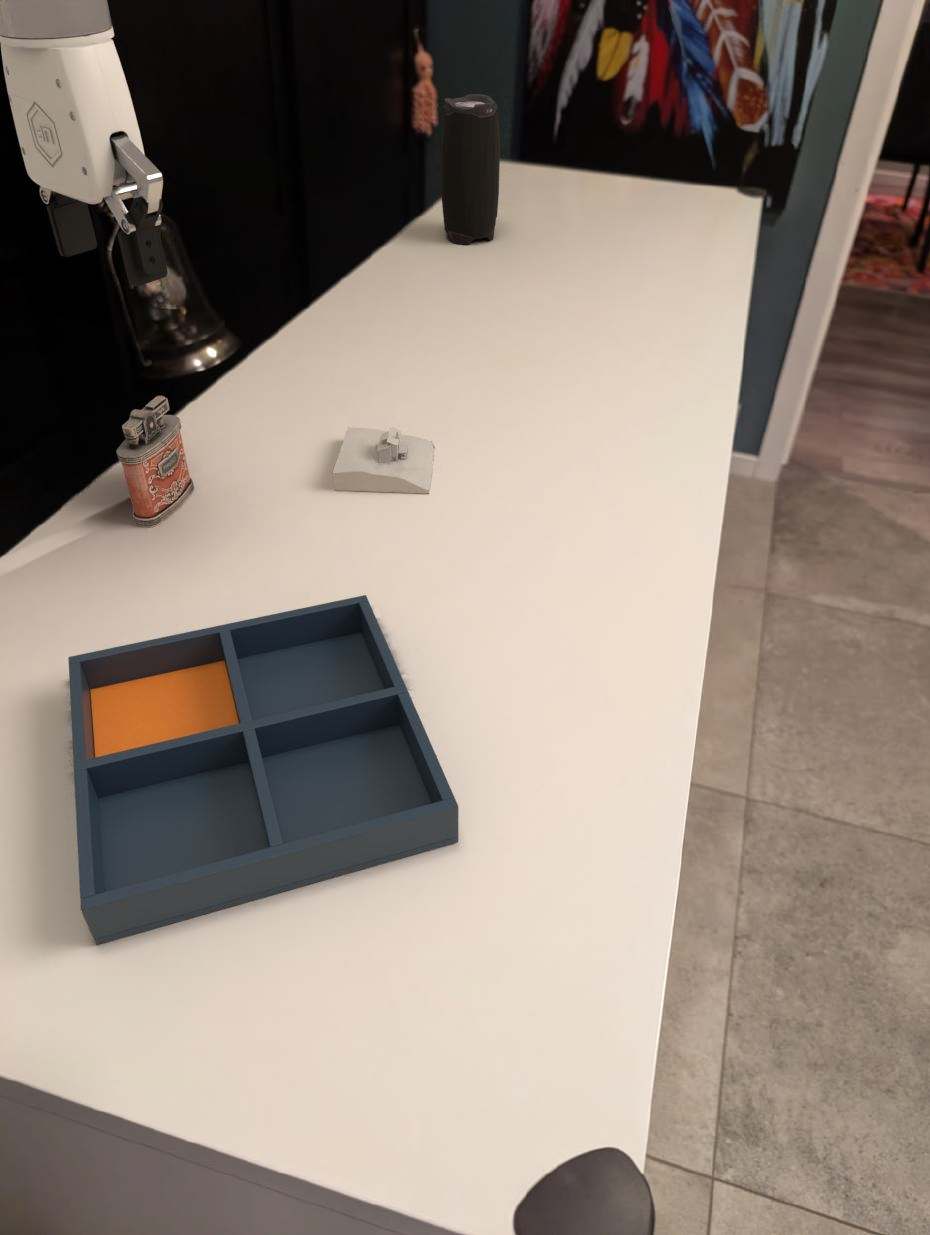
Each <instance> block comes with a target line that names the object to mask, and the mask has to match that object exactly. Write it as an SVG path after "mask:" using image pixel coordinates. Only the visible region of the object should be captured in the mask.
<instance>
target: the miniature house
mask: <svg viewBox="0 0 930 1235" xmlns="http://www.w3.org/2000/svg"><path fill="white" fill-rule="evenodd" d="M401 433H402V430H400V429H397V428H395V427H392V426H390V427H389V431H385V430H381V429H375V428H367V427H353V426H352V427H351V426H348V427H347V430H346V431H345V434H344V437H343V440H342V444H341V447H340V449H339V453H338V455H337V459H336V461H335V465H334V468H333V471H332V474H331V475H332V483H333V490H334V491H339V492H341V491H342V492H343V491H344V492H345V491H346V492H369V493H371V492H372V493H398V494H399V493H402V494H424V495H426V494H430V491H431V490H430V489H431V484H432V479H433V478H432V477H433V466H434V464H433V462H435V461H434V460H435V449H436V447H435V445H434V442H433V441H432V440H429V439H425V438H420V437H417V436H414V435H409V434H408V435H407V434H401Z"/></svg>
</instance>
